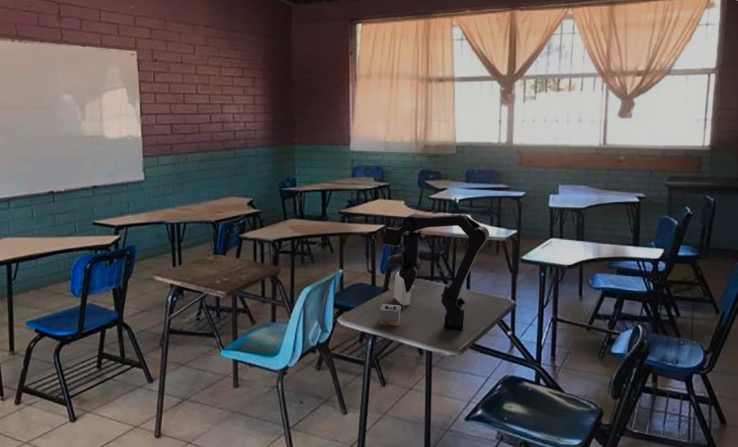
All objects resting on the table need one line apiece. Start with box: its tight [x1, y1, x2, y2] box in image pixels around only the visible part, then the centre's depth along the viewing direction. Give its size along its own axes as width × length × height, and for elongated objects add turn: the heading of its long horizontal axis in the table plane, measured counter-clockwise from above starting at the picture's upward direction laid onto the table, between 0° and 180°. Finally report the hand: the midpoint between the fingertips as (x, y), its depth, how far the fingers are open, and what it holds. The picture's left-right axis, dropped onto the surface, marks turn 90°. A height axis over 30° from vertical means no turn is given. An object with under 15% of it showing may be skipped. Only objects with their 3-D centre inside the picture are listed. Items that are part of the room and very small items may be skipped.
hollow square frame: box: [379, 303, 402, 323], centre depth 233 cm, size 7×7×4 cm
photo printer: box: [393, 271, 412, 306], centre depth 256 cm, size 10×4×12 cm, turn 17°
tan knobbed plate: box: [379, 306, 401, 327], centre depth 233 cm, size 7×7×6 cm
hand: (408, 288), depth 235 cm, fingers open, 9 cm apart
